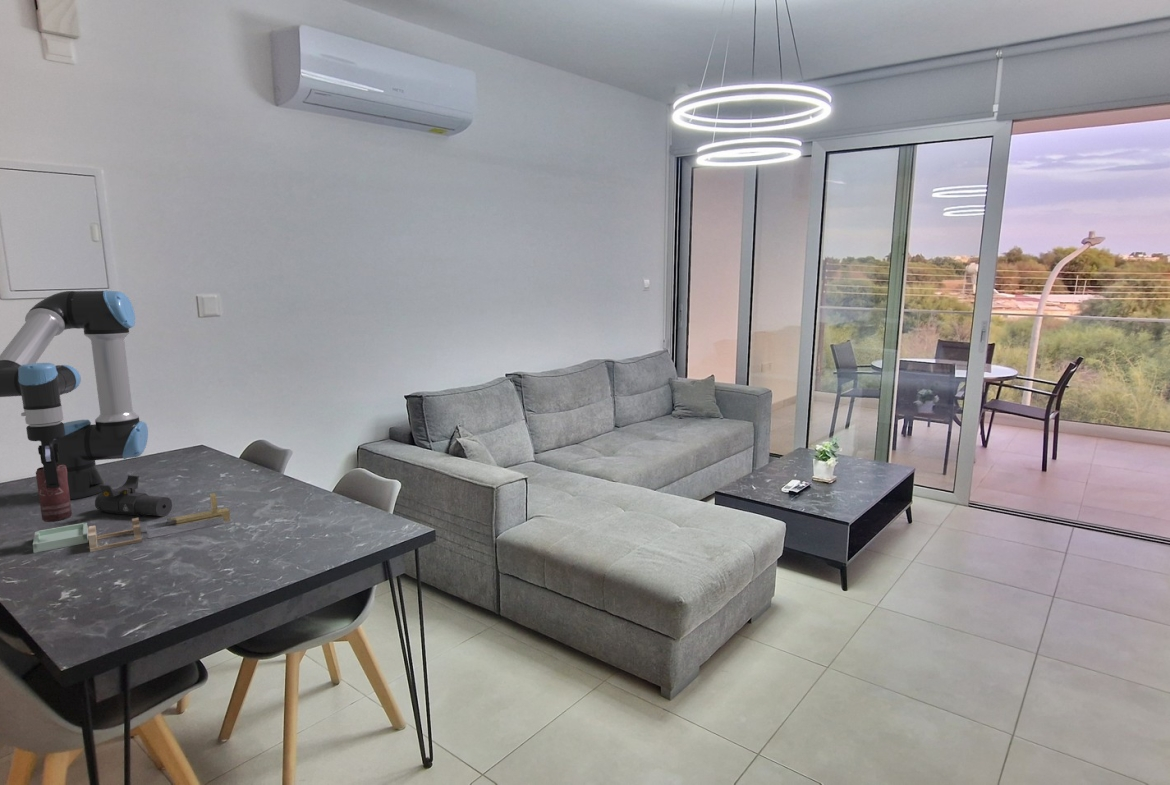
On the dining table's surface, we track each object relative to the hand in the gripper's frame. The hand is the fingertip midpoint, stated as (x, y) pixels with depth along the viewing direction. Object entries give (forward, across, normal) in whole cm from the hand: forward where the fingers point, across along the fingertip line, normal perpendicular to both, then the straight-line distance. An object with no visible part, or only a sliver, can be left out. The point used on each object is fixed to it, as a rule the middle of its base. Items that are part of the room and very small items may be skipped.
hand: (57, 510), depth 171 cm
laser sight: (+9, -14, +16) cm, 23 cm away
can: (+2, 0, 0) cm, 2 cm away
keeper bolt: (+8, +8, +31) cm, 34 cm away
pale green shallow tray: (+8, 0, 0) cm, 8 cm away
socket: (+8, +8, +12) cm, 17 cm away
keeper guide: (+8, +8, +28) cm, 30 cm away
